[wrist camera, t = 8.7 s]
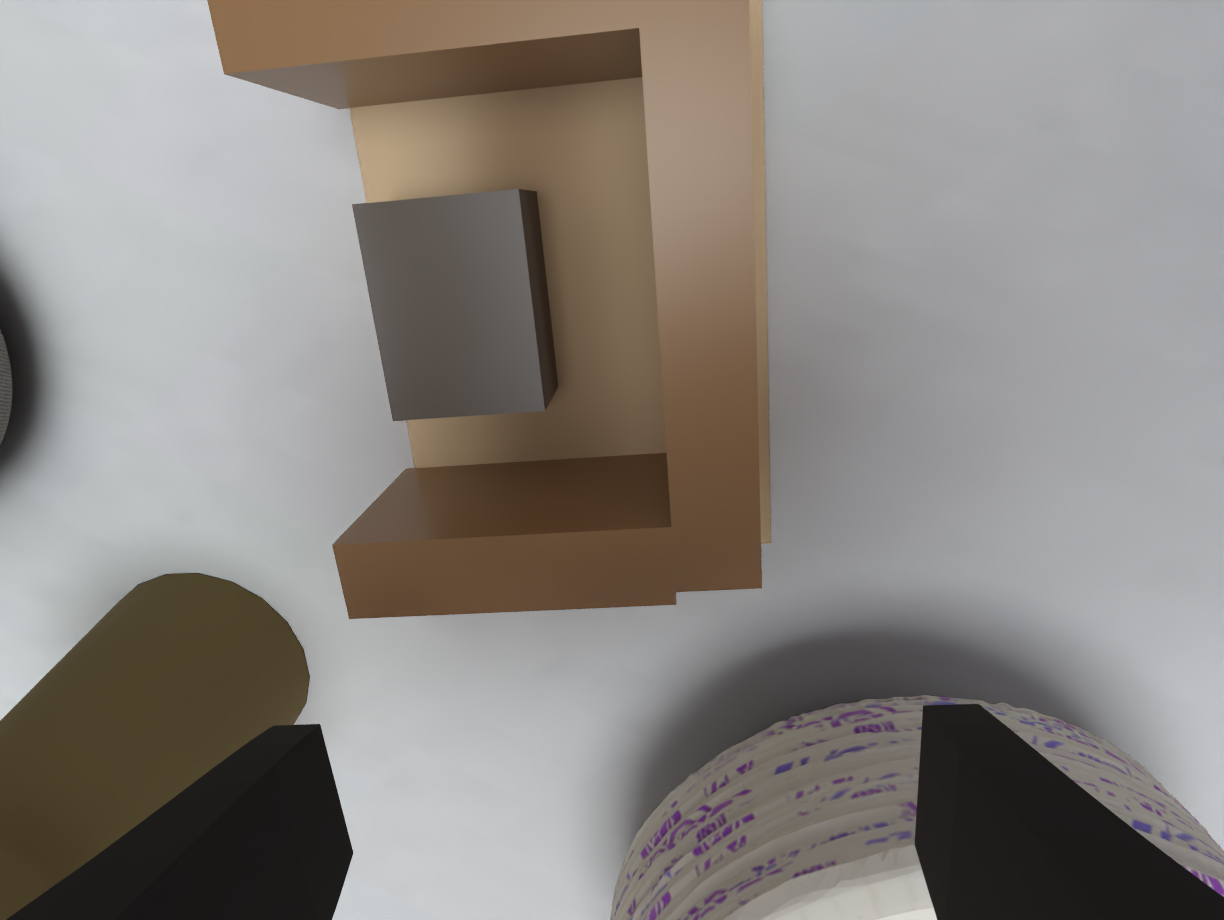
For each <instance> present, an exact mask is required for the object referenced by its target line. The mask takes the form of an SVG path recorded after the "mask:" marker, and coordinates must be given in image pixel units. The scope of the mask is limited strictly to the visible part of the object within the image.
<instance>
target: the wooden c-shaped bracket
mask: <svg viewBox="0 0 1224 920" xmlns="http://www.w3.org/2000/svg"><path fill="white" fill-rule="evenodd" d="M207 1H208V5H209V10H210V14H211V18H212V23H213V27H214V31H215V36H216V40H217V44H218V49H219V53H220V57H221V62H222V66H223V71H224V74H226V75H229V76H233V77H236V78H239V79H242V80H246V81H249V82H252V83H255V84H259V85H262V86H265V87H268V88H272V89H275V90H278V91H281V92H285V93H288V94H291V95H295V96H298V97H301V98H304V99H308V100H311V101H314V102H317V103H321V104H324V105H327V106H330V107H334V108H337V109H344V108H354V107H363V106H373V105H382V104H392V103H401V102H411V101H420V100H430V99H439V98H449V97H458V96H468V95H477V94H487V93H496V92H506V91H515V90H525V89H534V88H544V87H553V86H563V85H572V84H582V83H591V82H601V81H610V80H620V79H629V78H639V77H642V79H643V95H644V110H645V126H646V141H647V157H648V172H649V188H650V203H651V219H652V234H653V250H654V265H655V281H656V296H657V312H658V327H659V343H660V358H661V374H662V390H663V405H664V421H665V436H666V452H667V453H654V454H637V455H621V456H605V457H589V458H572V459H556V460H540V461H523V462H507V463H491V464H475V465H458V466H442V467H426V468H409V469H405V470H404V471H403V472H402V473H401V474H400V475H399V477H398V478H397V479H396V480H395V481H394V482H393V483H392V484H391V485H390V486H389V487H388V488H387V489H386V490H385V491H384V492H383V493H382V494H381V495H380V496H379V497H378V498H377V499H376V500H375V501H374V502H373V503H372V504H371V505H370V506H369V508H368V509H367V510H366V511H365V512H364V513H363V514H362V515H361V516H360V517H359V518H358V519H357V520H356V521H355V522H354V523H353V524H352V525H351V526H350V527H349V528H348V529H347V530H346V531H345V532H344V533H343V534H342V535H341V536H340V538H339V539H338V540H337V541H336V542H335V543H334V544H333V545H332V546H333V550H334V554H335V559H336V563H337V567H338V572H339V576H340V581H341V585H342V589H343V594H344V598H345V602H346V607H347V611H348V615H349V619H357V618H380V617H403V616H426V615H449V614H472V613H495V612H518V611H540V610H563V609H586V608H609V607H632V606H655V605H676V592H688V591H710V590H732V589H754V588H762V569H761V522H760V475H759V429H758V382H757V336H756V289H755V243H754V196H753V150H752V103H751V57H750V10H749V0H207Z"/></svg>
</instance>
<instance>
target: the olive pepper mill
mask: <svg viewBox="0 0 1224 920" xmlns="http://www.w3.org/2000/svg"><path fill="white" fill-rule="evenodd" d="M309 678H310V677H309V672H308V668H307V664H306V659H305V655H304V651H303V648H302V646H301V645H300V643H299V641H298V640H297V638H296V636H295V635H294V633H293V631H292V630H291V628H290V626H289V625H288V623H287V622H286V621H285V620H284V619H283V618H282V617H281V616H280V615H279V614H278V613H277V612H276V611H275V610H274V609H273V608H271V607H270V606H269V605H268V604H267V603H266V602H265V601H264V600H263V599H262V598H260V597H258V596H256V595H255V594H253V593H251V592H249V591H247V590H245V589H244V588H242V587H240V586H238V585H236V584H235V583H233V582H230V581H226V580H223V579H219V578H215V577H211V576H207V575H203V574H199V573H191V574H165V575H163V576H160V577H157V578H154V579H152V580H149V581H146V582H143V583H141V584H138V585H137V586H136V587H135V588H134V589H133V590H132V591H130V592H129V593H128V594H127V595H126V596H125V597H124V598H123V599H122V600H120V601H119V602H118V603H117V604H116V605H115V606H114V607H113V608H112V609H111V610H110V611H109V612H108V613H107V614H106V615H105V616H104V617H103V618H102V619H101V620H100V621H99V622H98V623H97V624H96V625H95V626H94V627H93V628H92V629H91V630H90V631H89V632H88V633H87V634H86V635H85V636H84V637H83V638H82V639H81V640H80V641H79V642H78V643H77V644H76V645H75V646H74V647H73V648H72V649H71V650H70V651H69V652H68V653H67V654H66V655H65V656H64V657H63V658H62V659H61V660H60V661H59V662H58V663H57V664H56V665H55V666H54V667H53V668H52V669H51V670H50V671H49V672H48V673H47V674H46V675H45V676H44V677H43V678H42V679H41V680H40V681H39V682H38V683H37V684H36V685H35V687H34V688H33V689H32V690H31V691H30V692H29V693H28V694H27V695H26V696H25V697H24V698H23V699H22V700H21V701H20V702H19V703H18V704H17V705H16V706H15V707H14V708H13V709H12V710H11V711H10V712H9V713H8V714H7V715H6V716H5V717H4V718H3V719H2V720H1V721H0V920H6V919H7V918H9V917H10V916H12V915H13V914H15V913H16V912H17V911H19V910H20V909H22V908H23V907H24V906H26V905H27V904H29V903H30V902H32V901H33V900H34V899H36V898H37V897H39V896H40V895H41V894H43V893H44V892H46V891H47V890H49V889H50V888H51V887H53V886H54V885H56V884H57V883H58V882H60V881H61V880H63V879H64V878H66V877H67V876H68V875H70V874H71V873H73V872H74V871H75V870H77V869H78V868H80V867H81V866H83V865H84V864H85V863H87V862H88V861H90V860H91V859H92V858H94V857H95V856H96V855H98V854H99V853H100V852H102V851H103V850H104V849H106V848H107V847H108V846H110V845H111V844H112V843H114V842H115V841H116V840H118V839H119V838H120V837H122V836H123V835H124V834H126V833H127V832H128V831H130V830H131V829H132V828H134V827H135V826H137V825H138V824H139V823H141V822H142V821H143V820H145V819H146V818H147V817H149V816H150V815H151V814H153V813H154V812H155V811H157V810H158V809H159V808H161V807H162V806H163V805H165V804H166V803H167V802H169V801H170V800H171V799H173V798H174V797H175V796H177V795H178V794H179V793H181V792H182V791H183V790H185V789H186V788H187V787H188V786H190V785H191V784H192V783H194V782H195V781H196V780H198V779H199V778H200V777H202V776H203V775H204V774H206V773H207V772H208V771H210V770H211V769H212V768H214V767H215V766H216V765H218V764H219V763H220V762H222V761H223V760H225V759H226V758H227V757H229V756H230V755H231V754H233V753H234V752H235V751H237V750H238V749H240V748H241V747H242V746H244V745H245V744H247V743H248V742H249V741H251V740H252V739H254V738H255V737H257V736H258V735H260V734H261V733H263V732H264V731H266V730H267V729H269V728H270V727H272V726H277V725H293V724H294V723H295V721H296V719H297V718H298V716H299V714H300V713H301V711H302V709H303V708H304V706H305V704H306V700H307V693H308V686H309Z"/></svg>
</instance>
